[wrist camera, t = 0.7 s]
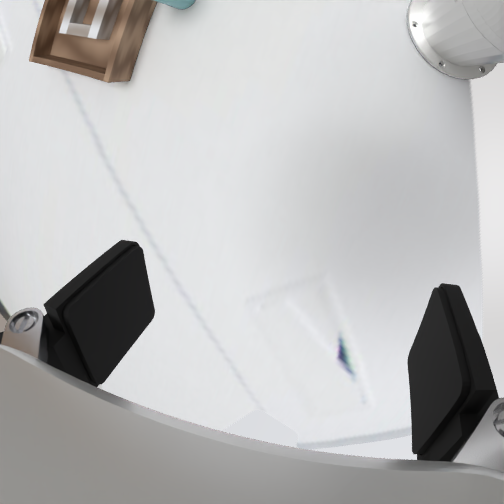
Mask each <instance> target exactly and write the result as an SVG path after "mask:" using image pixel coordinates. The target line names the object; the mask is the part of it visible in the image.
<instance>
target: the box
mask: <svg viewBox="0 0 504 504" xmlns="http://www.w3.org/2000/svg"><path fill="white" fill-rule="evenodd" d="M156 3H157V1H154V0H45V2H44V5H43V8H42V12H41V15H40V18H39V22H38V25H37V29H36V33H35V37H34V41H33V45H32V49H31V54H30V58H29V61H31V62H35V63H39V64H43V65H47V66H51V67H55V68H59V69H63V70H67V71H70V72H74V73H78V74H81V75H85V76H88V77H92V78H95V79H98V80H101V81H105V82H108V83H109V82H120V81H130V78H131V75H132V72H133V68H134V65H135V62H136V59H137V56H138V53H139V50H140V47H141V44H142V41H143V38H144V35H145V32H146V30H147V27H148V24H149V21H150V19H151V16H152V13H153V11H154V8H155V6H156Z"/></svg>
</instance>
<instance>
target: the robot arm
mask: <svg viewBox="0 0 504 504" xmlns="http://www.w3.org/2000/svg"><path fill="white" fill-rule="evenodd" d="M412 24H414V25H415V26H416V28H414V27H413V26H412ZM407 25H408V30H409V33H410V36H411V39H412V41H413V43H414V45H415V46H416V48H417V50H418V51H419V52H420V54H421V55H422V56H423V57H424V59H425V60H427V61H428V62H429V63H430V64H431V65H432V66H433V67H435V68H436V69H438V70H439V71H441V72H443V73H445V74H446V75H448V76H452V77H455V78H459V79H474V78H480V77H482V76H485V75H486V74H488V73H489V72H490V71H492V70H493V68H494V67H495V66H496V64H497V63H503V62H504V0H411V3H410V5H409V7H408V12H407ZM439 63H441V64H442V66H439ZM479 68H480V69H481V72H480V70H479ZM44 307H45V309H46V312H47V314H46V315H45V316H44V315H43V313H42V312H41V310H39V309H38V308H25V309H22V310H20V311H18V312H16V313H15V314H14V315H12V316H11V317H10V318H9V320H8V321H7V323H6V325H5V329H4V332H1V333H0V504H504V398H499V397H498V393H497V390H496V386H495V382H494V379H493V375H492V372H491V369H490V366H489V362H488V359H487V356H486V353H485V350H484V347H483V344H482V341H481V338H480V336H479V334H478V332H477V329H476V326H475V323H474V321H473V318H472V316H471V313H470V310H469V308H468V305H467V303H466V301H465V298H464V296H463V293H462V291H461V289H460V287H459V286H458V285H451V284H443V283H442V284H440V286H439V288H436V287H435V288H434V289H433V291H432V294H431V297H430V300H429V303H428V306H427V309H426V311H425V314H424V317H423V320H422V322H421V325H420V327H419V330H418V333H417V335H416V338H415V340H414V343H413V345H412V347H411V350H410V352H409V356H408V373H409V385H410V399H411V419H412V452H413V453H414V454H417V460H401V459H385V458H372V457H362V456H351V455H343V454H334V453H327V452H319V451H313V450H306V449H300V448H294V447H289V446H283V445H278V444H273V443H268V442H264V441H259V440H255V439H250V438H246V437H241V436H238V435H234V434H230V433H226V432H222V431H218V430H215V429H211V428H208V427H204V426H201V425H197V424H194V423H191V422H188V421H184V420H181V419H178V418H175V417H172V416H169V415H166V414H163V413H160V412H158V411H155V410H152V409H149V408H146V407H144V406H141V405H138V404H136V403H133V402H131V401H128V400H126V399H123V398H121V397H118V396H116V395H113V394H111V393H108V392H106V391H104V390H101V389H99V388H97V387H98V385H99V384H102V383H104V382H105V380H106V379H107V378H108V376H109V375H110V374H111V372H112V371H113V370H114V369H115V367H116V366H117V365H118V363H119V362H120V361H121V359H122V358H123V357H124V355H125V354H126V353H127V352H128V350H129V349H130V348H131V346H132V345H133V344H134V343H135V341H136V340H137V339H138V337H139V336H140V335H141V334H142V332H143V331H144V330H145V328H146V327H147V326H148V325H149V323H150V322H151V321H152V319H153V317H154V314H155V309H154V304H153V300H152V295H151V290H150V285H149V280H148V275H147V270H146V265H145V259H144V254H143V249H142V248H141V247H140V246H139V244H138V243H137V242H133V241H126V240H121V241H119V242H118V243H116V244H115V245H114V246H113V247H111V248H110V249H109V250H108V251H106V252H105V253H104V254H103V255H101V256H100V257H99V258H98V259H96V260H95V261H94V262H93V263H91V264H90V265H89V266H88V267H87V268H85V269H84V270H83V271H82V272H81V273H79V274H78V275H77V276H76V277H75V278H73V279H72V280H71V281H70V282H69V283H67V284H66V285H65V286H64V287H63V288H62V289H60V290H59V291H58V292H57V293H56V294H55V295H54V296H52V297H51V298H50V299H49V300H48V301H47V302H46V303H45V304H44Z"/></svg>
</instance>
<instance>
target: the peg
mask: <svg viewBox="0 0 504 504" xmlns="http://www.w3.org/2000/svg"><path fill="white" fill-rule="evenodd" d="M154 1H157V2H160V3H163V4H166V5H169V6H172V7H175V8H178V9H186V8H188V7H190V6H191V5H192V4H193V3H194V2H195V0H154Z"/></svg>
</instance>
